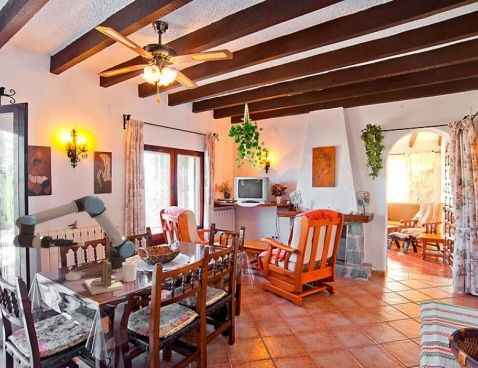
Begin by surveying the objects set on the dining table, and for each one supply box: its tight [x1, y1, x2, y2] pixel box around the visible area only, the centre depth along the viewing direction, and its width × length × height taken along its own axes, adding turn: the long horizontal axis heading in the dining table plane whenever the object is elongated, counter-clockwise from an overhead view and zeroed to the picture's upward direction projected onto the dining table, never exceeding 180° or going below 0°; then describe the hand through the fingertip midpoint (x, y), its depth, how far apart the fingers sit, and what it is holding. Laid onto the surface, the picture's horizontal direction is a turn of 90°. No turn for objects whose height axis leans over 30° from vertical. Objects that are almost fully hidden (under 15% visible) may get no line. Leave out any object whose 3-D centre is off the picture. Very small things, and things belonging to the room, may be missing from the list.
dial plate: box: [84, 275, 124, 295], centre depth 187 cm, size 18×24×2 cm
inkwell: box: [65, 262, 95, 281], centre depth 203 cm, size 9×18×10 cm, turn 124°
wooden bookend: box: [92, 259, 116, 287], centre depth 185 cm, size 20×14×15 cm
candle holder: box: [121, 260, 138, 283], centre depth 199 cm, size 10×10×12 cm
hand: (83, 243), depth 183 cm, fingers closed
